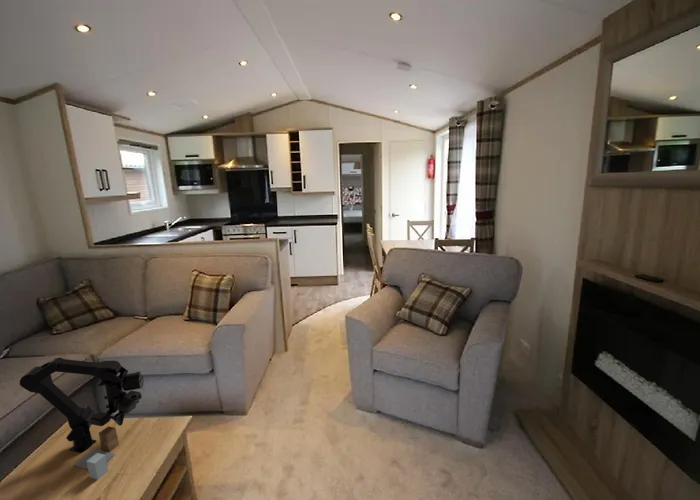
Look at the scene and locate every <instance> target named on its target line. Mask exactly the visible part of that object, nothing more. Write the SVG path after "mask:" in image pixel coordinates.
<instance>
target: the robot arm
mask: <svg viewBox="0 0 700 500" xmlns="http://www.w3.org/2000/svg"><path fill="white" fill-rule="evenodd" d="M54 373H63V374H64V373H67V374H77V375H86V376H91V377H94V378H95V379H97V380H100V381H99V382H98V384H97V387H102V386H104V390H105V396H103V398H104V400H106V402H107V404H106V405H105V408H106V409H107V410H106V411H105V412H104V411H99V412H98V413H96V410H93V409H92V408H91V407H90V406H89V405H87V406H86V407H82V406H81V407H80V406H79V404H77V403H75V401H73V400H72V398H70V397H69V396H68V395H67V394H66V393H64V391H63V390H61V389H60V388H59V387H58V386H57V385H56V384H55V383H54V382H53V379H52V374H54ZM144 383H145V378H144V375H143V374H142V373H141V371H136V372H132V373H131V372H130V373H129V369H126V368H125V367H123V366H122V365H121V363H120V362H119V361H118V360H103V361H99V362H98V361H97V362H94V361H84V360H76V359H69V358H68V359H67V358H63V357H56V358H54V359H52V360H50V361H48V362H46V363H43V364H42V365H40V366H38V365H37V366H34V367H32V368H31V369H30V370H29V371H27V372H26V373H25V374H24V375H23V376H22V377H20V380H19V383H18V384H19V386H20V387H21V388H23V389H25V390H26V391H28V392H30V393H35V394H39V395H40V396H41V397H43V398H44V400H46V401H47V402H48V403H50V404H51V405H52V406H53V408H55V409H56V410H57V411H59V413H60V414H62V415H63V416H64V417H65V418H66V419H67V423H68V426H69V428H70V432H69V433H68V435H66V438H65V439H66V440H67V441H68V442H72V446H71V447H69V451H72V452H74V453H79V454H82V453H83V452H85V451H86V450H88V449H89V448H90V447H92V445H94V444H96V443H97V440H96V439H93V437H92V433H91V431H90V428H91V427H92V425H93V426H97V427H103V426H105V425H106V424H107V423H109V422H111V420H113V421H114V422H115V423H116V424H117V426H119V427H121V426H123V424H124V419H125V415H127V414H129V413H131V411H133V410H135V409H136V407H137V404H138V403H139V402H140V400H141V399H142V397H143V396H142V393H141V392H140V391H136V390H139V389H143V387H144V385H145V384H144Z"/></svg>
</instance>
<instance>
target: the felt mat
mask: <svg viewBox="0 0 700 500" xmlns="http://www.w3.org/2000/svg"><path fill="white" fill-rule="evenodd" d="M96 453H100V454H104V455H106V460H107V462H109V461H110V460H111V459H113V457H115V456H116V454H115V453H112V452H106V451H102V449H97V448H93V449H92V450H90V451H89V452H87V453H86V454H85V455H84V456H83V457H81V458H79V459H78V460H77V461H76V462H75V463H73V466H74V467H77V468H81V469H85V470H88V467H87V462H86V461H87V460H89V459H90V458H91V457H92V456H94V455H95V454H96Z"/></svg>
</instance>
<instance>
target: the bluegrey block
mask: <svg viewBox="0 0 700 500" xmlns="http://www.w3.org/2000/svg"><path fill="white" fill-rule="evenodd" d="M86 462H87V467H88V469H87V470H88V475H89V478H90V479H94V480H96V481H97V480H100V479H101V478H102V477H103V476H105V475H106V474H107V473H108V472H109V466H108V461H107V460H106V455H104V454H100V453H96V454H95V455H94V456H92V457H91V458H90V459H89V460H87V461H86Z"/></svg>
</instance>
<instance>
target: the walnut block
mask: <svg viewBox="0 0 700 500" xmlns="http://www.w3.org/2000/svg"><path fill="white" fill-rule="evenodd" d="M98 437H99V442H100V447H101V451H105V452H109V453H112V451H113V450H114V449H115V448H117V447H118V446H119V445H120V444H119V440H118V439H119V438H118V434H117V428H116V427H113V426H109V425H108V426H107V427H105V428H104V429H102V430H101V431H99V432H98Z"/></svg>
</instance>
